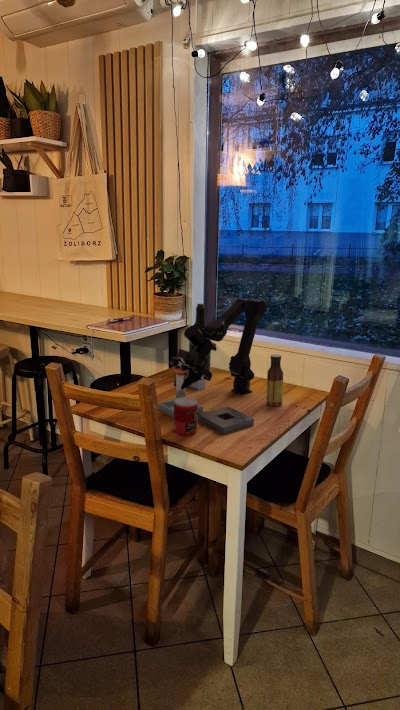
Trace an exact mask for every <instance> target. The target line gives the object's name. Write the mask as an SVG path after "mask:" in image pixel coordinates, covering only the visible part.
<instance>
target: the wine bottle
mask: <svg viewBox="0 0 400 710" xmlns="http://www.w3.org/2000/svg"><path fill="white" fill-rule="evenodd" d="M196 304H197V305H196V307H195V321H194V322H195V323H197V324H199V325H200V326H201V328H202V329H203V328H205V327H206V326H207V323H206V321H207V320H206V306H205V303H196ZM195 323H194V324H195ZM188 341H189V340H188ZM195 347H196V346H193V345H192V344H191V343H190V341H189V342H188V352H189V351H190V350H194V349H195ZM211 355H212V351H211V352H210V353H209V355H208V356H207V358H206V360H207V362H206V363H203V364H202V366H204V367H207V368H208V370H209V371H210V372H211V365H212V364H211V361H212V360H211V358H212V357H211Z"/></svg>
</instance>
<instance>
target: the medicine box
mask: <svg viewBox="0 0 400 710" xmlns="http://www.w3.org/2000/svg"><path fill="white" fill-rule="evenodd" d="M188 368H189V367H188ZM188 371H189V370H187V374H188ZM187 376H188V375H187ZM187 376H186V378H187ZM201 379H202V380H199V381H197V382H195V383H193V384H191V385H189V386H188V387H187V388H190V387H191V388H190V389H193V388H194V389H193V390H196V391H201V390H204V389H206V381H207V380H205V379H204V375H203V376H202V377H201Z"/></svg>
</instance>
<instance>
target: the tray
mask: <svg viewBox="0 0 400 710" xmlns="http://www.w3.org/2000/svg"><path fill="white" fill-rule="evenodd" d="M175 399H176V398H175ZM175 399H169V400H166V401H165V400H164V401H161V402H158V403H157V409H158V408H159V410H158V411H160V412H162V413H164V414H165V415H167V416H168V417H171V418H172V419H174V400H175ZM197 406H198V407H197V415H198V414H201V413H204V406H203V405H201V404H200V403H198V405H197Z"/></svg>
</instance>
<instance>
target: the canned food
mask: <svg viewBox="0 0 400 710" xmlns="http://www.w3.org/2000/svg"><path fill="white" fill-rule="evenodd" d="M173 400H174V399H173ZM198 404H199V403H198V400H197V399H196V398H193V397H189V396H186V397H180V398H177V399H176V398H175V400H174V418H173V431H174V433H175V434H176V435H177V436H181V437H189V436H193V435H196V433H197V431H198V430H197V429H198V414H197V407H198V406H197V405H198Z"/></svg>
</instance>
